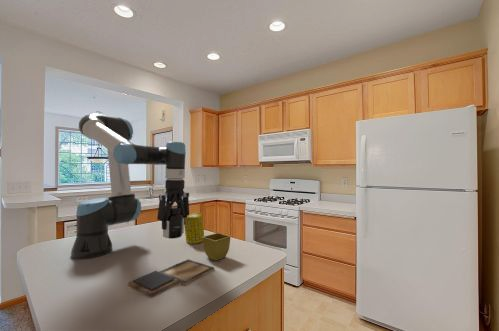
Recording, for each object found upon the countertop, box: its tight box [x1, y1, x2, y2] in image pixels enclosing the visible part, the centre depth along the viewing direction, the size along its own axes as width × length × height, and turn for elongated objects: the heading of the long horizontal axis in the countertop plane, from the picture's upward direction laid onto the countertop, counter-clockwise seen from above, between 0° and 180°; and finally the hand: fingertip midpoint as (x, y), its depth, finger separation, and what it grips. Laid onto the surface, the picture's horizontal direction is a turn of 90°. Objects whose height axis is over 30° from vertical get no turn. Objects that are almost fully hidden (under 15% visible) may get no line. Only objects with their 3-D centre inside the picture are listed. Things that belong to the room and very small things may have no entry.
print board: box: [158, 258, 215, 286], centre depth 84 cm, size 14×14×1 cm
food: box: [184, 212, 205, 245], centre depth 119 cm, size 15×12×10 cm
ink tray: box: [127, 270, 179, 298], centre depth 75 cm, size 12×10×1 cm
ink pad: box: [132, 270, 174, 291], centre depth 75 cm, size 10×8×1 cm
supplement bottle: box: [167, 206, 183, 239], centre depth 95 cm, size 7×7×12 cm
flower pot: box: [202, 232, 231, 261], centre depth 97 cm, size 9×9×9 cm
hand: (173, 234), depth 95 cm, fingers closed on supplement bottle, 7 cm apart
